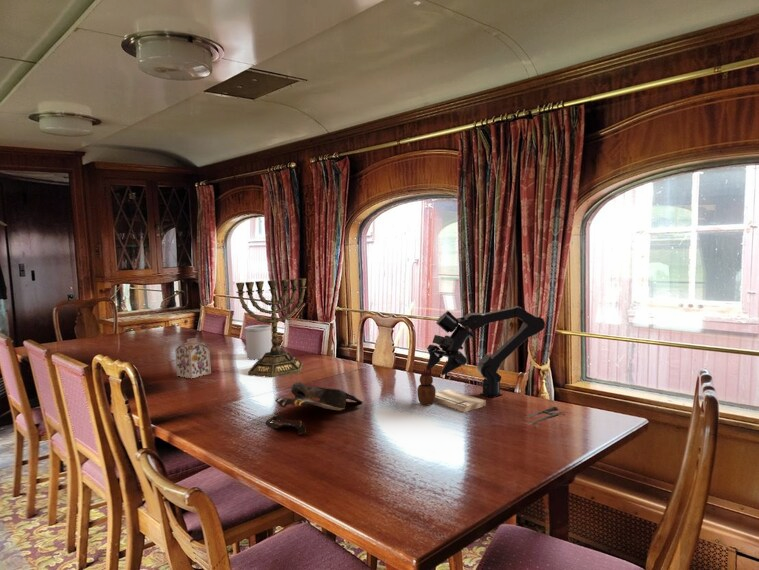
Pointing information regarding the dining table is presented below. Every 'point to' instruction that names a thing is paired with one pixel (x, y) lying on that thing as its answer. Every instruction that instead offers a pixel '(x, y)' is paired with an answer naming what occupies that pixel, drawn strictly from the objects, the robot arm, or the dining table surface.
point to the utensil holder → (258, 340)
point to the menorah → (275, 359)
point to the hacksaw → (544, 417)
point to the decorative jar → (193, 359)
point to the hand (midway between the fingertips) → (434, 372)
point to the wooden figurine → (426, 388)
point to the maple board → (458, 400)
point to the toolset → (304, 397)
